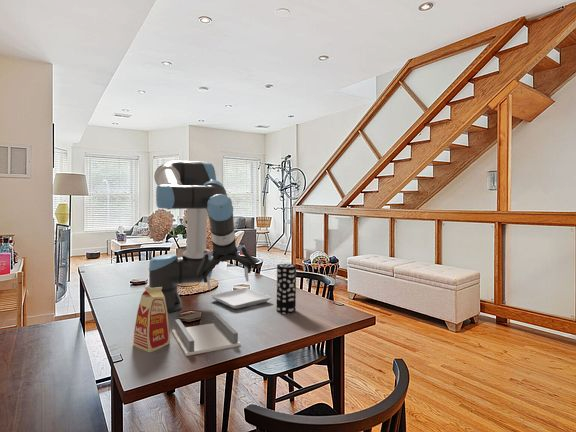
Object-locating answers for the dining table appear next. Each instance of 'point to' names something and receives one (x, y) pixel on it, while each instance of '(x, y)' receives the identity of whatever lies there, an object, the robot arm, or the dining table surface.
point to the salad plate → (240, 298)
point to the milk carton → (152, 321)
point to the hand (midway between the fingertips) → (228, 282)
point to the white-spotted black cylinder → (286, 288)
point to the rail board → (205, 336)
